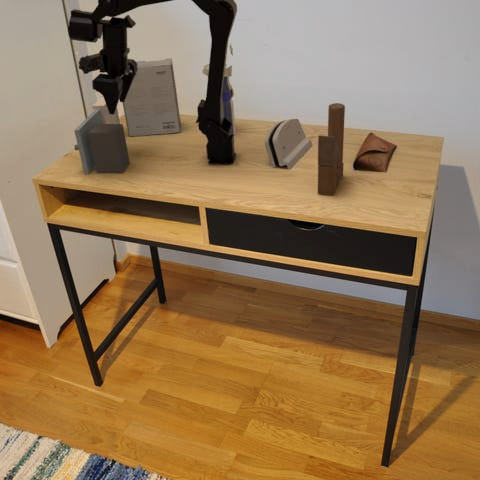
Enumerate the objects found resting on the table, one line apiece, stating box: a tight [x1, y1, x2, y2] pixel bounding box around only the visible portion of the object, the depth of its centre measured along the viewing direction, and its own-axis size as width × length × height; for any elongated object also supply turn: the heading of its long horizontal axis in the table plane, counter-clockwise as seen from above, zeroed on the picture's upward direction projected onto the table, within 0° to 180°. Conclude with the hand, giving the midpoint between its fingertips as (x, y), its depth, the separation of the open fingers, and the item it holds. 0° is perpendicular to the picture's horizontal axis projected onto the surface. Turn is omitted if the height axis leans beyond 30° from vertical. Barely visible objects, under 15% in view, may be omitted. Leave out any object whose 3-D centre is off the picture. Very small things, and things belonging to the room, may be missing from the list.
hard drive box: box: [122, 57, 182, 137], centre depth 162 cm, size 16×8×20 cm, turn 94°
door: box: [73, 109, 103, 175], centre depth 147 cm, size 3×16×12 cm, turn 172°
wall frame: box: [92, 95, 121, 124], centre depth 157 cm, size 3×11×13 cm, turn 172°
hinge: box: [264, 118, 313, 171], centre depth 144 cm, size 17×5×10 cm, turn 154°
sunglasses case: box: [352, 132, 398, 174], centre depth 141 cm, size 18×7×7 cm
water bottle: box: [202, 42, 237, 136], centre depth 155 cm, size 8×9×25 cm
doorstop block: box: [88, 123, 131, 175], centre depth 142 cm, size 7×6×11 cm
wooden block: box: [317, 102, 346, 197], centre depth 125 cm, size 4×11×18 cm, turn 159°
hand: (117, 107), depth 141 cm, fingers open, 9 cm apart
